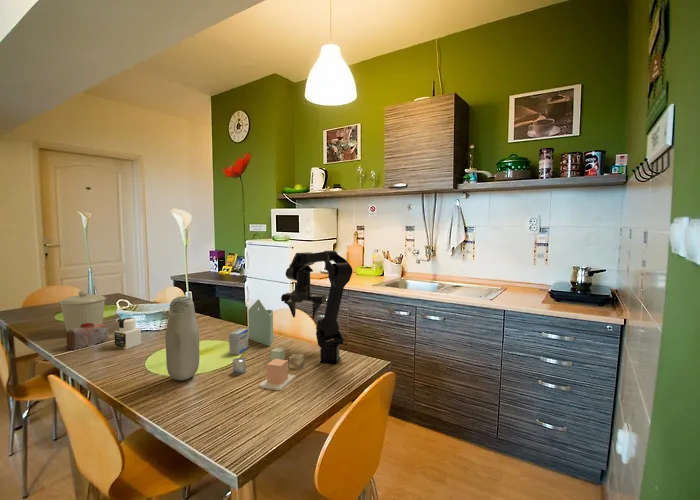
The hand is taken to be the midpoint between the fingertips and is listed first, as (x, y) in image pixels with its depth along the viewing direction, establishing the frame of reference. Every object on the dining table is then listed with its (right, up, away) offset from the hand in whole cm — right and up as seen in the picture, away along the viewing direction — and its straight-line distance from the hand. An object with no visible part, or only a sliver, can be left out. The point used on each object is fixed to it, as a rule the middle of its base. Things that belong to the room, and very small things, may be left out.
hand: (303, 318), depth 145 cm
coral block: (-4, -14, -33) cm, 36 cm away
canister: (-111, -12, +22) cm, 114 cm away
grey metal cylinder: (-19, -14, -25) cm, 35 cm away
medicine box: (-26, -13, -4) cm, 30 cm away
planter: (-19, -13, +11) cm, 25 cm away
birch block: (0, -14, -19) cm, 24 cm away
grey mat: (-4, -15, -33) cm, 36 cm away
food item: (-95, -13, +4) cm, 96 cm away
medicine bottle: (-77, -13, +3) cm, 78 cm away
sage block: (-8, -14, -12) cm, 20 cm away
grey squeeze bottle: (-37, -15, -30) cm, 49 cm away
